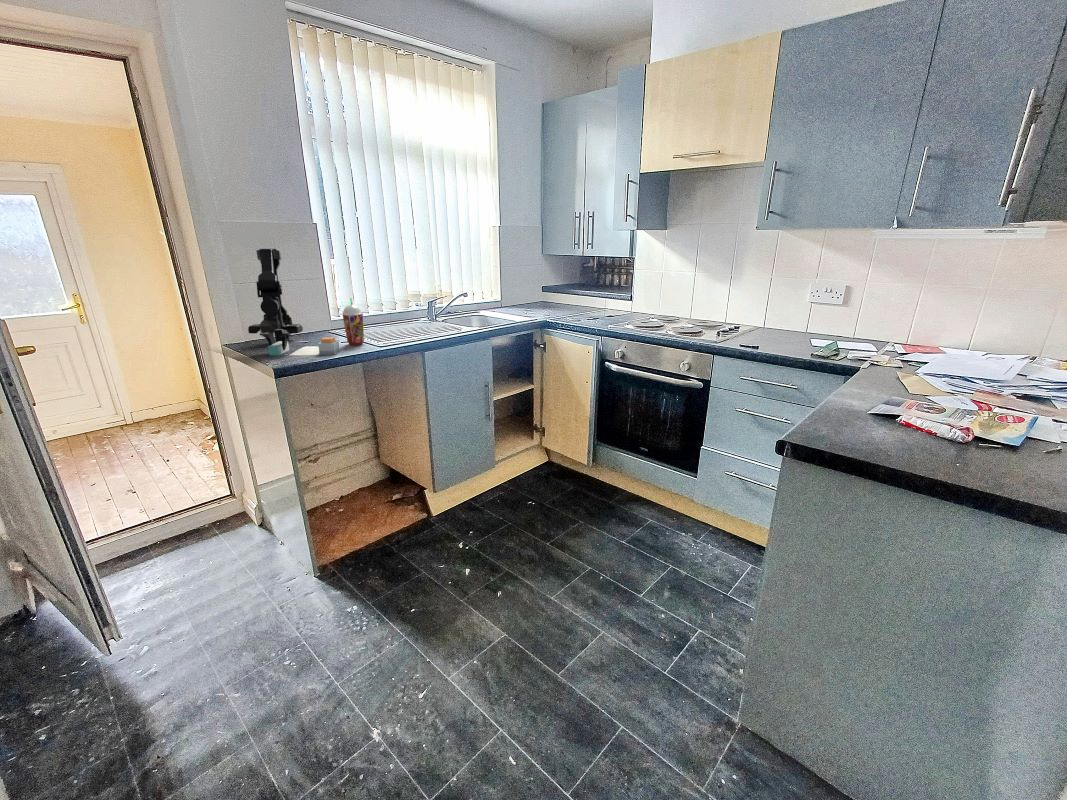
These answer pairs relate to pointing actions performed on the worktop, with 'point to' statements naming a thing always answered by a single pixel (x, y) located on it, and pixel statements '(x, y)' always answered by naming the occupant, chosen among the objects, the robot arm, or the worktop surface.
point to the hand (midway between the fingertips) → (279, 350)
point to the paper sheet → (307, 351)
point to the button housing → (329, 348)
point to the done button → (328, 340)
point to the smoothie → (353, 324)
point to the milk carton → (277, 348)
